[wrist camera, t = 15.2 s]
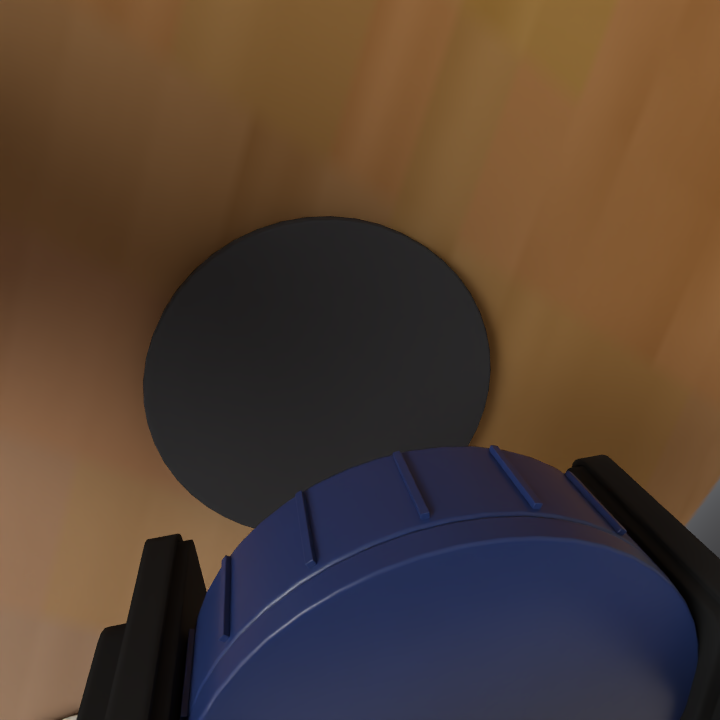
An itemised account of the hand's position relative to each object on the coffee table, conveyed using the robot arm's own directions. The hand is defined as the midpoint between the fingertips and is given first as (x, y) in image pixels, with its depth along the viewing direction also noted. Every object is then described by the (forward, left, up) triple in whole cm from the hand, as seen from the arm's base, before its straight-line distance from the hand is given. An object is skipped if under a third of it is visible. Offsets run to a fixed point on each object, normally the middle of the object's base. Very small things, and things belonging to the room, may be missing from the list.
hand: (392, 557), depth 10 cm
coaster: (0, 0, -8) cm, 8 cm away
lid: (0, 0, +3) cm, 3 cm away
